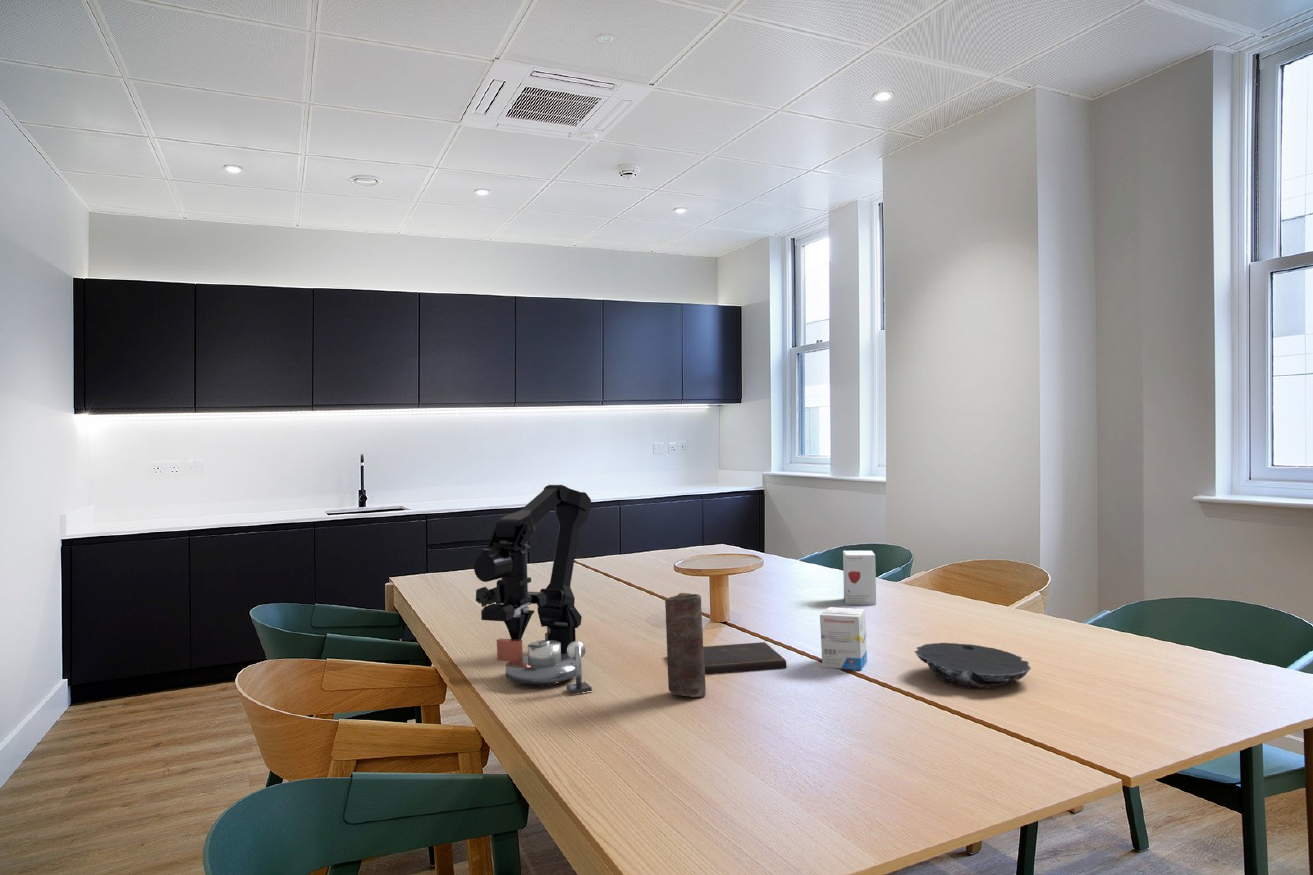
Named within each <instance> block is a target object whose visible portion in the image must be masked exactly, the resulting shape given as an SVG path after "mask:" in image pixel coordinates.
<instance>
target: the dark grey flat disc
mask: <svg viewBox="0 0 1313 875" xmlns="http://www.w3.org/2000/svg"><path fill="white" fill-rule="evenodd" d="M913 652H914V653H915V654H916V656H917V657H918V659H919V660H920V661H922V662H923V663H925V664H927V665H928V666H927V667H928V669H929V670H930V671H931V672H932V673H933V674H935V676H936V677H937V678H938V679H940V680H939V681H941V682H942V683H944V684H946V685H950V686H954V687H959V688H962V689H963V688H965V689H973V688H974V690H984V691H985V690H988V689H987V688H989V689H991V688H993V687H994V688H999V687H1001V686H1003V685H1007V684H1008V683H1009V682H1016V681H1018V680H1019V681H1020V680H1021V679H1022V678H1024V677H1025V676H1026V675H1027V674H1028V672H1030V670H1032V668H1031V666H1030V662H1029V661H1027V660H1023V657H1022V656H1019V655H1016V654H1014V653H1012V652H1008V651H1006V650H1003V649H998V648H995V647H989V646H988V647H987V646H982V645H975V644H970V643H969V644H966V643H955V642H937V643H935V642H933V643H927V644H923V645H921V646H917V647H916V650H915V651H913Z"/></svg>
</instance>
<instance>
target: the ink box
mask: <svg viewBox="0 0 1313 875" xmlns="http://www.w3.org/2000/svg"><path fill="white" fill-rule="evenodd" d="M866 618H867V617H866V609H865V608H864V609H861V608H848V607H834V606H829V607H828V608H826V609H825V610H824V611H822V613H820V615H819V624H820V625H819V626H820V640H821V641H820V644H821V648H820V649H821V663H822V664H821V665H822V668H831V669H839V670H840V669H841V670H842V669H843V670H851V671H852V670H853V671H854V670H855V671H858V670H859V671H862V670H863V668H864V667H865V665H866V664H867V661H868V652H867V651H868V650H867V648H868V647H867V621H866V620H867V619H866Z"/></svg>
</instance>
